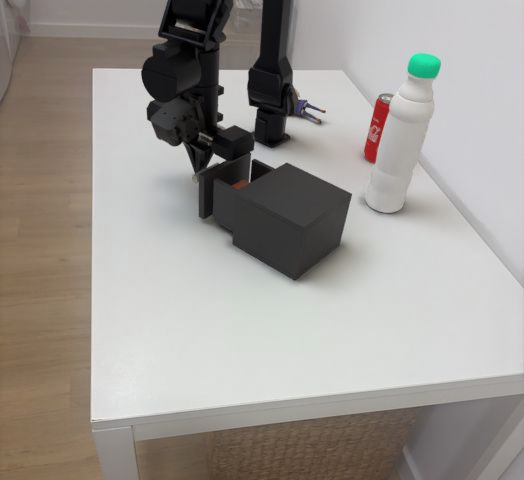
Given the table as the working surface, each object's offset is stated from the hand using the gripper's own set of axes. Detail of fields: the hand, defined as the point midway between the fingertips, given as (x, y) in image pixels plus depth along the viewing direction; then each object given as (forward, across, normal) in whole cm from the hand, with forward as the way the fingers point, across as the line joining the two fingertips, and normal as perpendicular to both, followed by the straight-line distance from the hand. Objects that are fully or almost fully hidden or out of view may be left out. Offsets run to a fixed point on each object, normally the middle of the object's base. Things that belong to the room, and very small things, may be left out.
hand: (199, 175), depth 90 cm
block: (+2, +10, 0) cm, 10 cm away
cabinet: (+4, +20, 0) cm, 20 cm away
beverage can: (+4, +14, +37) cm, 40 cm away
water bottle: (+4, +24, +23) cm, 34 cm away
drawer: (+3, +9, 0) cm, 9 cm away
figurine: (+4, -10, +40) cm, 41 cm away
